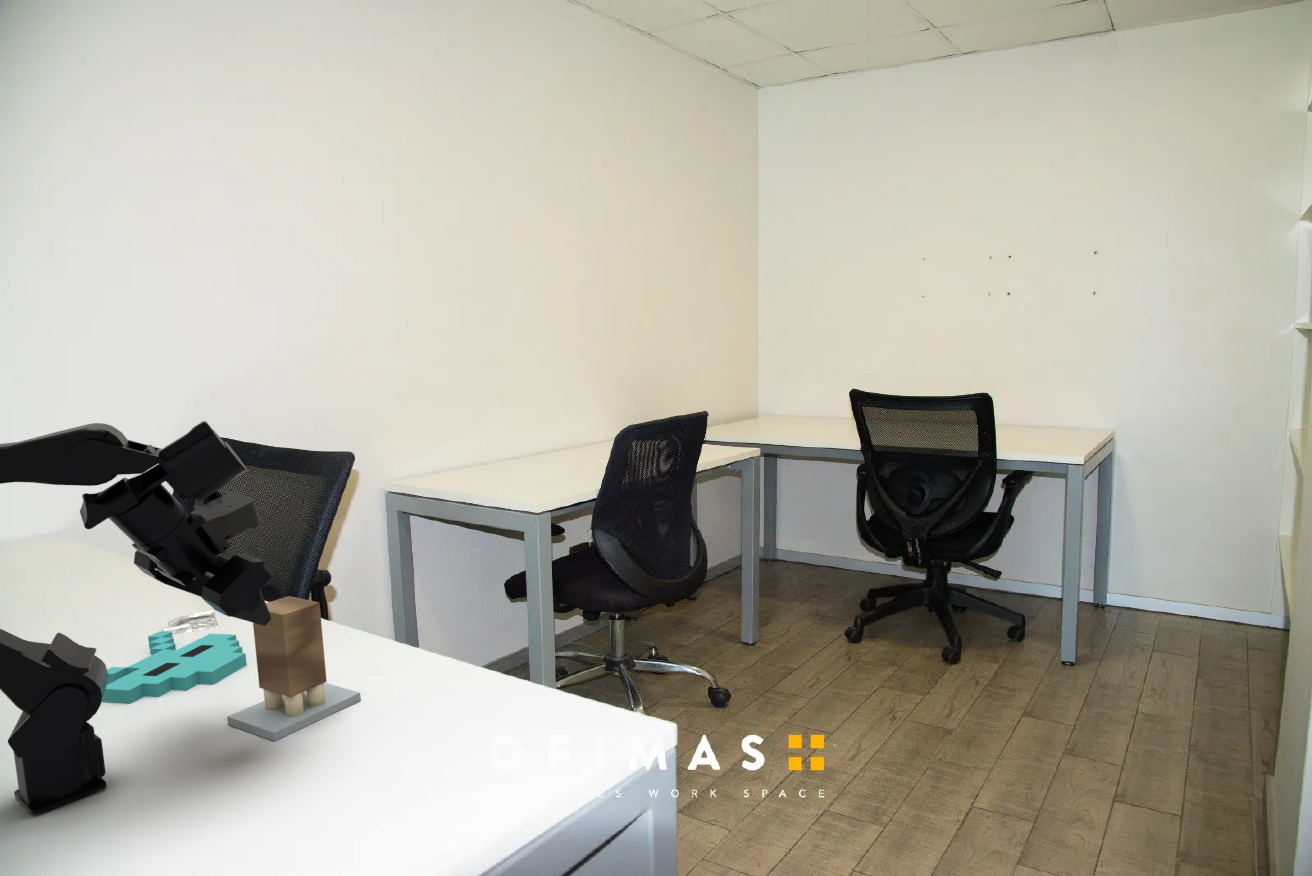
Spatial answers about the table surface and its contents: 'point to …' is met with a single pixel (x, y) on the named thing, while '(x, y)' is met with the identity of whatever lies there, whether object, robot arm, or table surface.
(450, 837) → the table surface
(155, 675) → the alien figure
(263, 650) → the walnut block
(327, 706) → the peg stand
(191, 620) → the crumpled silver wrapper
